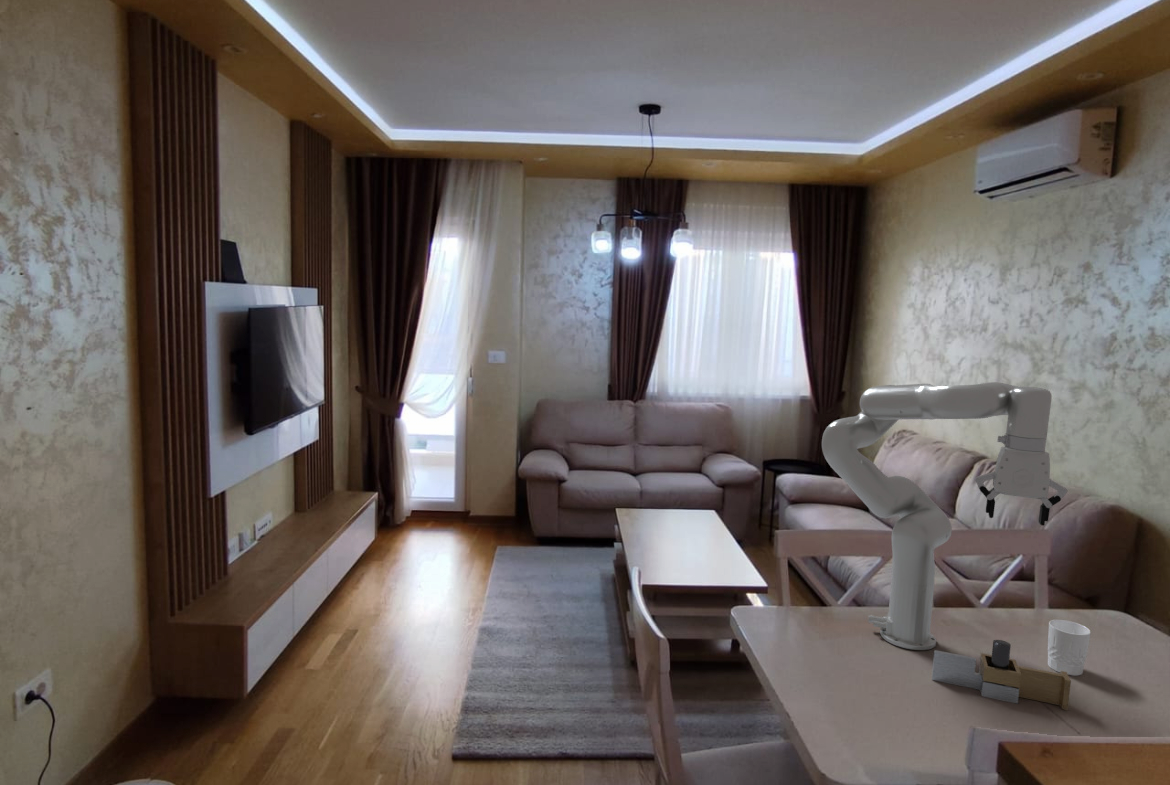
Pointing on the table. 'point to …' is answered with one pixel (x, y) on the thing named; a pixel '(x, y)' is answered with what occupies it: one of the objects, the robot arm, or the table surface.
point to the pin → (1000, 654)
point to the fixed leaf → (969, 676)
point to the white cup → (1067, 646)
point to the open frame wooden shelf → (1029, 681)
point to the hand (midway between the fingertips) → (1015, 520)
